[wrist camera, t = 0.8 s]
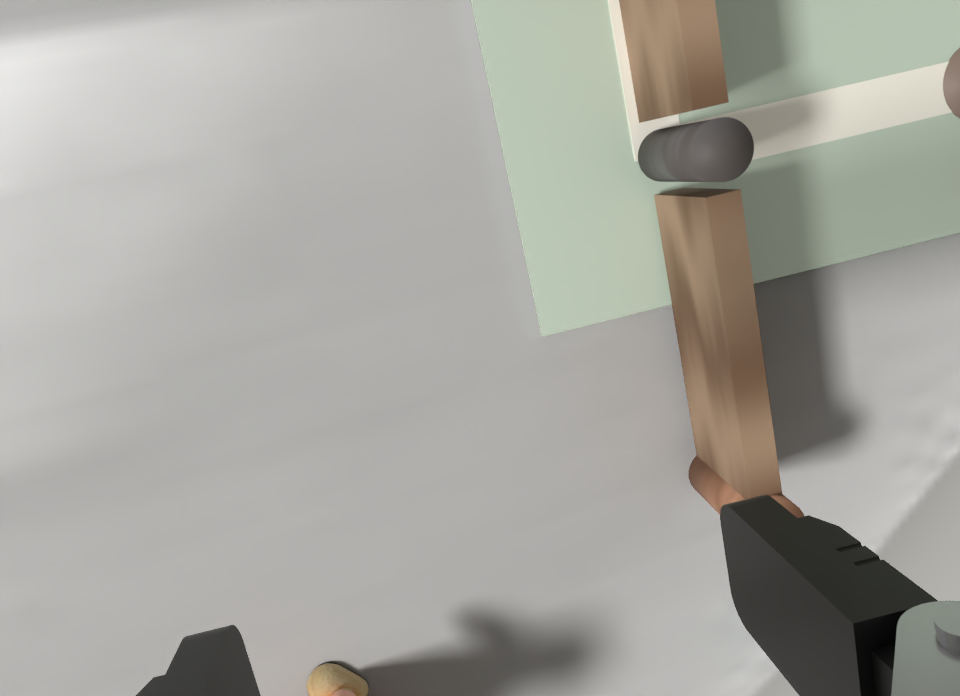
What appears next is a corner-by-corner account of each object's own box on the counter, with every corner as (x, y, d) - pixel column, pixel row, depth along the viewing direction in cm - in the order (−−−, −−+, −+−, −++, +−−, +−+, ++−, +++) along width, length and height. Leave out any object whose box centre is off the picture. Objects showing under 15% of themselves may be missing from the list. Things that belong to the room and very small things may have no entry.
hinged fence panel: (631, 135, 29) (686, 125, 23) (685, 122, 29) (752, 110, 24) (692, 500, 32) (752, 563, 27) (740, 487, 33) (809, 548, 27)
